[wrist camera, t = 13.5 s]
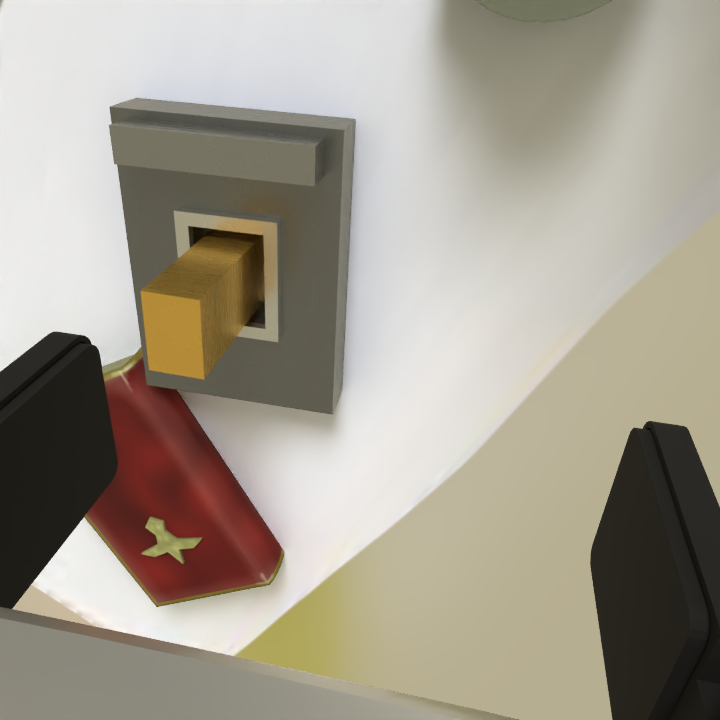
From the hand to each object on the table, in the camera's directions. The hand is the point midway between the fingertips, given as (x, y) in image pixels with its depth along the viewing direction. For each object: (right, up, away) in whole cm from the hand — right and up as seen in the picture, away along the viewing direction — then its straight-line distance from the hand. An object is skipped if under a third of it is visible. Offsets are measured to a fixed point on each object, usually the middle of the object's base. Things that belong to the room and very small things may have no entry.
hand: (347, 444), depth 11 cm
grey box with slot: (-7, +8, +30) cm, 32 cm away
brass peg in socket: (-7, +8, +30) cm, 32 cm away
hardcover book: (-16, -7, +42) cm, 45 cm away
